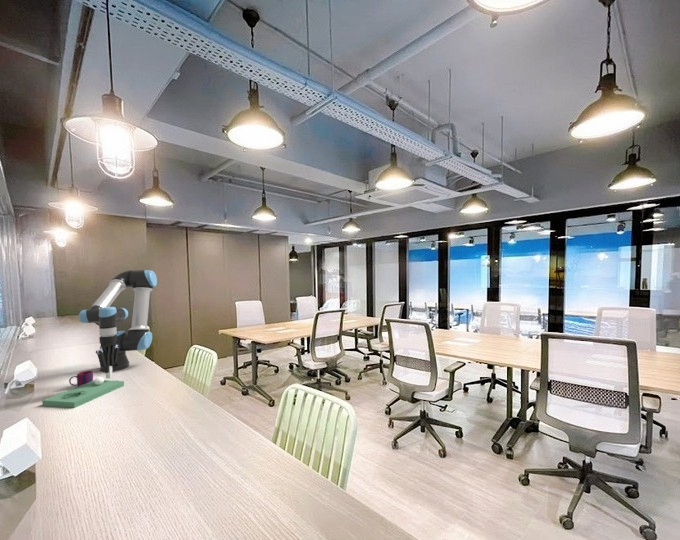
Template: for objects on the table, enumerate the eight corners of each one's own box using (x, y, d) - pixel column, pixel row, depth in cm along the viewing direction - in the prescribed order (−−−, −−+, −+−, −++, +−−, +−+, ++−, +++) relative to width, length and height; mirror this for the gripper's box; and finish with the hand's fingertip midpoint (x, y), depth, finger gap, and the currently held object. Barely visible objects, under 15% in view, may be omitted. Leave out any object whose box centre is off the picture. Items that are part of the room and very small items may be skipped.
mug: (94, 384, 165) (93, 372, 165) (70, 390, 158) (69, 377, 158) (91, 381, 170) (91, 369, 170) (68, 387, 162) (68, 374, 162)
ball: (99, 383, 161) (99, 375, 161) (106, 383, 160) (105, 376, 160) (92, 386, 157) (92, 378, 157) (98, 386, 156) (98, 378, 156)
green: (95, 384, 166) (95, 379, 166) (123, 385, 163) (123, 381, 163) (42, 405, 140) (42, 400, 140) (74, 407, 137) (74, 402, 137)
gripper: (113, 332, 171) (113, 373, 171) (90, 337, 158) (91, 382, 158) (124, 332, 170) (125, 374, 170) (102, 338, 157) (103, 382, 157)
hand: (109, 377), depth 164 cm, fingers closed
